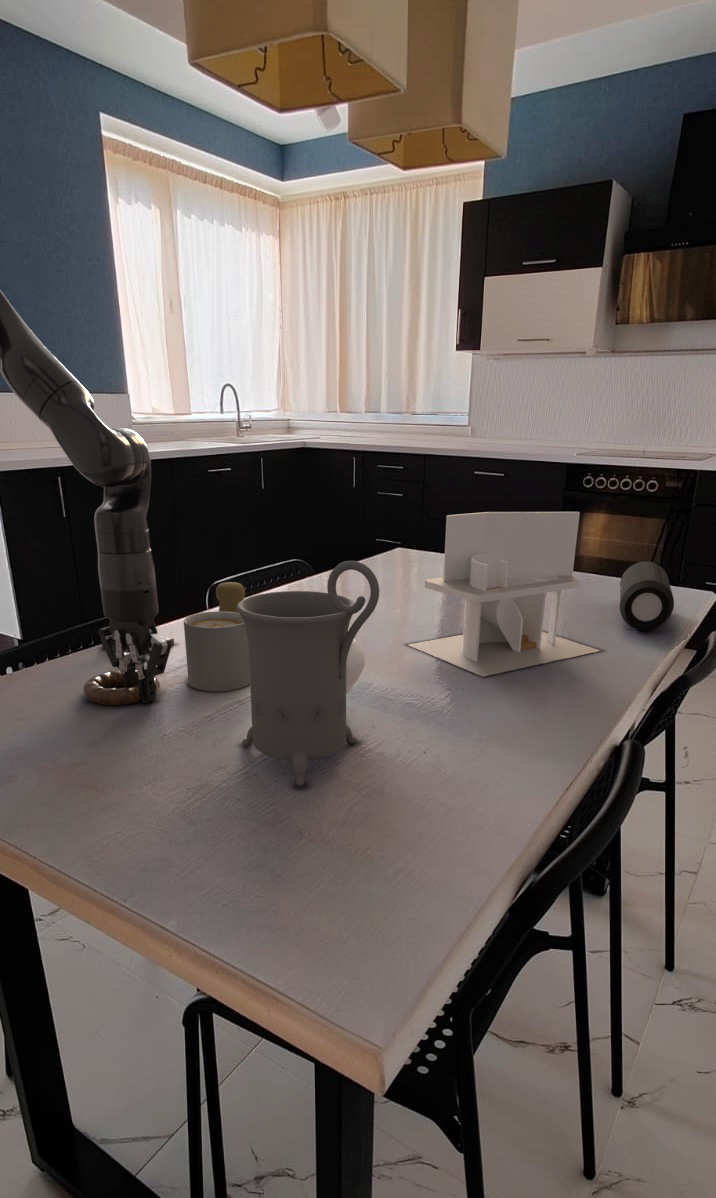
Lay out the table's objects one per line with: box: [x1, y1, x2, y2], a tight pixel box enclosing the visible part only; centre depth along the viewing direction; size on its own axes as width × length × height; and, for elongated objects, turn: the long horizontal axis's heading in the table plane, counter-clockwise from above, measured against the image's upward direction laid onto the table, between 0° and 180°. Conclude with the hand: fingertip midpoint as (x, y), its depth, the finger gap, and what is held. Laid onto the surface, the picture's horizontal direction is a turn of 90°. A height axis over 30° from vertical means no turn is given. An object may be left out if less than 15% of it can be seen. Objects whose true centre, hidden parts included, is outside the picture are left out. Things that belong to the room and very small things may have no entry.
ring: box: [82, 670, 161, 706], centre depth 116 cm, size 11×11×2 cm
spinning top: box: [346, 638, 366, 695], centre depth 110 cm, size 8×8×12 cm
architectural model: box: [407, 511, 602, 677], centre depth 136 cm, size 28×21×23 cm
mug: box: [237, 560, 380, 787], centre depth 91 cm, size 19×15×25 cm
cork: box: [215, 581, 246, 613], centre depth 140 cm, size 6×6×11 cm
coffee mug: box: [183, 610, 250, 692], centre depth 122 cm, size 13×10×10 cm
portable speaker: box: [619, 560, 675, 632], centre depth 159 cm, size 26×10×10 cm, turn 163°
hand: (140, 698), depth 114 cm, fingers closed on ring, 2 cm apart
